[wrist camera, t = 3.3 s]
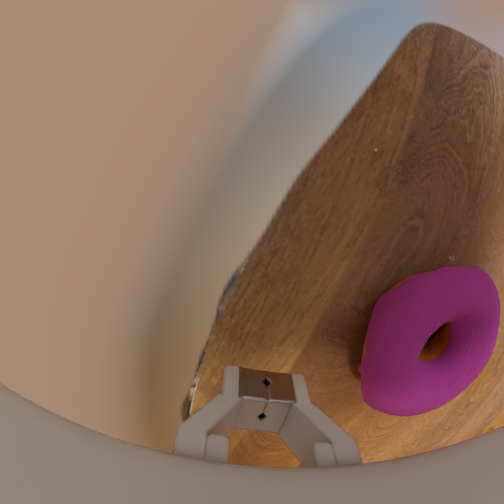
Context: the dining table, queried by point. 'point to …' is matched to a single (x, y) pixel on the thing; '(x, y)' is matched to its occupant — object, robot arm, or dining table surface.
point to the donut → (438, 348)
